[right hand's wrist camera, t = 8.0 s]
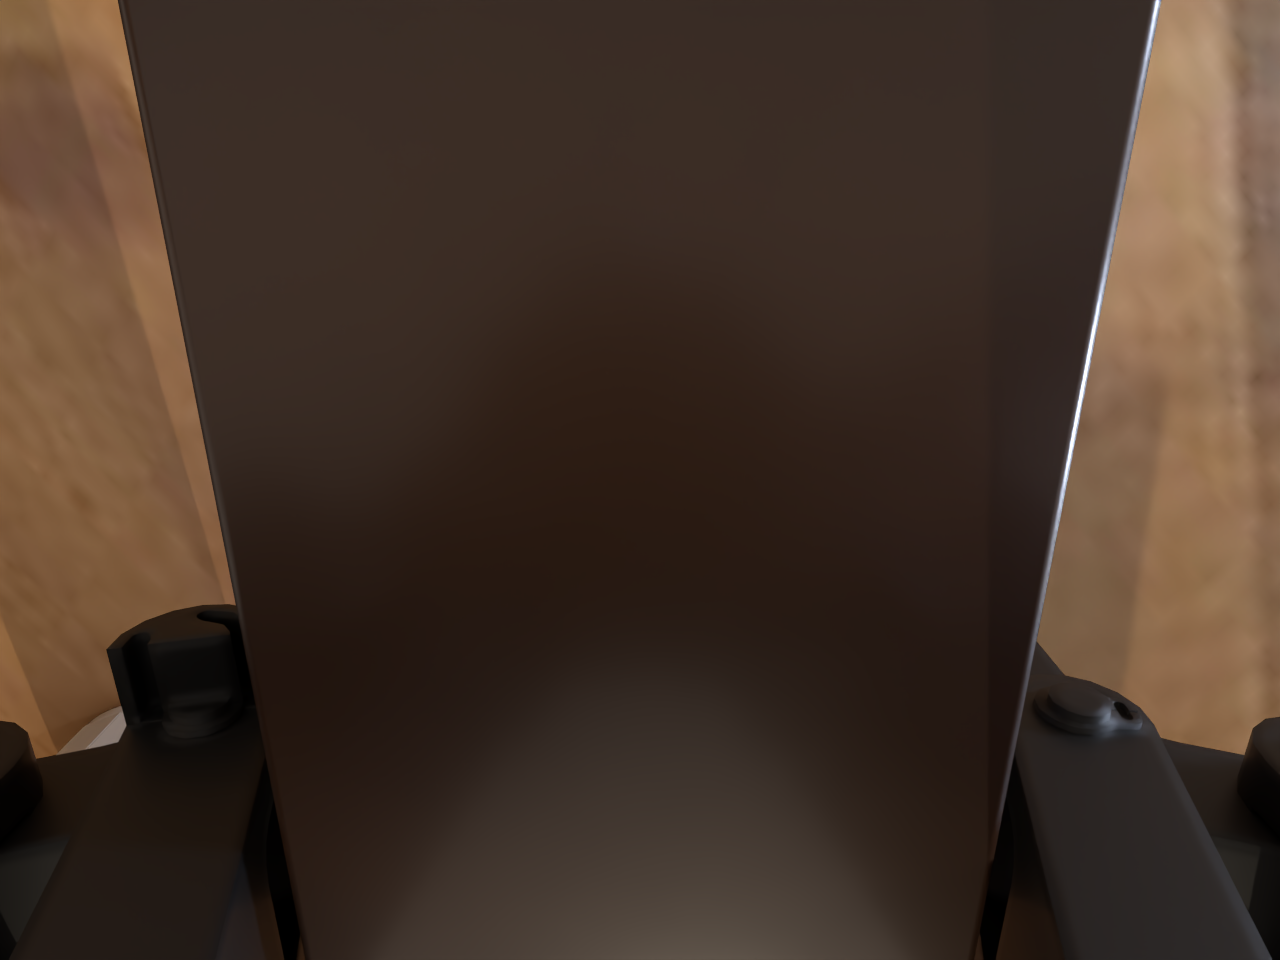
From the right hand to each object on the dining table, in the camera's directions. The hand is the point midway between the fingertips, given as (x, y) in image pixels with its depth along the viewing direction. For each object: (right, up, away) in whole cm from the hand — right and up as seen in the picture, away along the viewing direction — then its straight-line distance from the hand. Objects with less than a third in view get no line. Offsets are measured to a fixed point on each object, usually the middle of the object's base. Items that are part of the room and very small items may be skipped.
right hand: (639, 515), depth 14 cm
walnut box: (0, +9, -3) cm, 9 cm away
